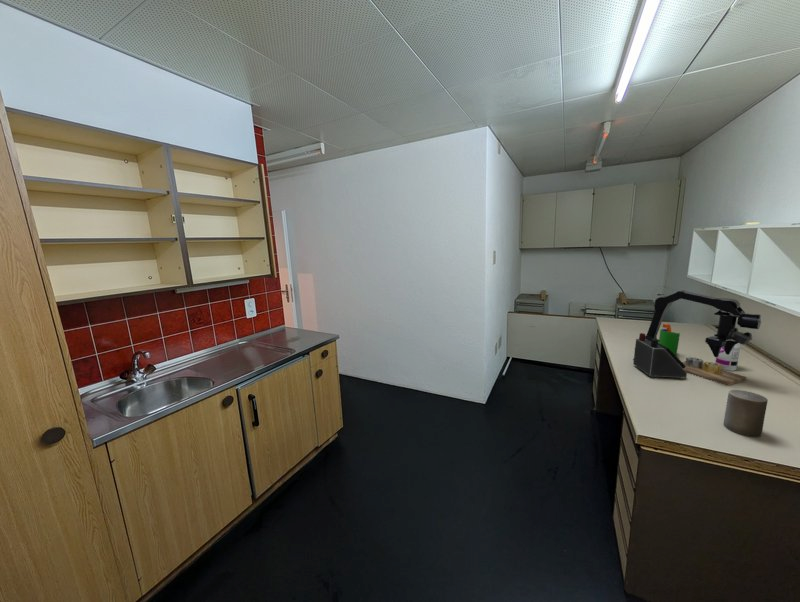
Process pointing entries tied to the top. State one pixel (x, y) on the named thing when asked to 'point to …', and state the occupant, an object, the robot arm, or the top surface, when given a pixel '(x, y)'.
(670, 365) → the voltmeter
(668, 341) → the motor
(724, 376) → the board
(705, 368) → the brass gear
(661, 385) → the top surface
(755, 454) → the top surface
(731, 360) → the supplement can
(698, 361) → the steel gear
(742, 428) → the pillar candle
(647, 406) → the top surface
